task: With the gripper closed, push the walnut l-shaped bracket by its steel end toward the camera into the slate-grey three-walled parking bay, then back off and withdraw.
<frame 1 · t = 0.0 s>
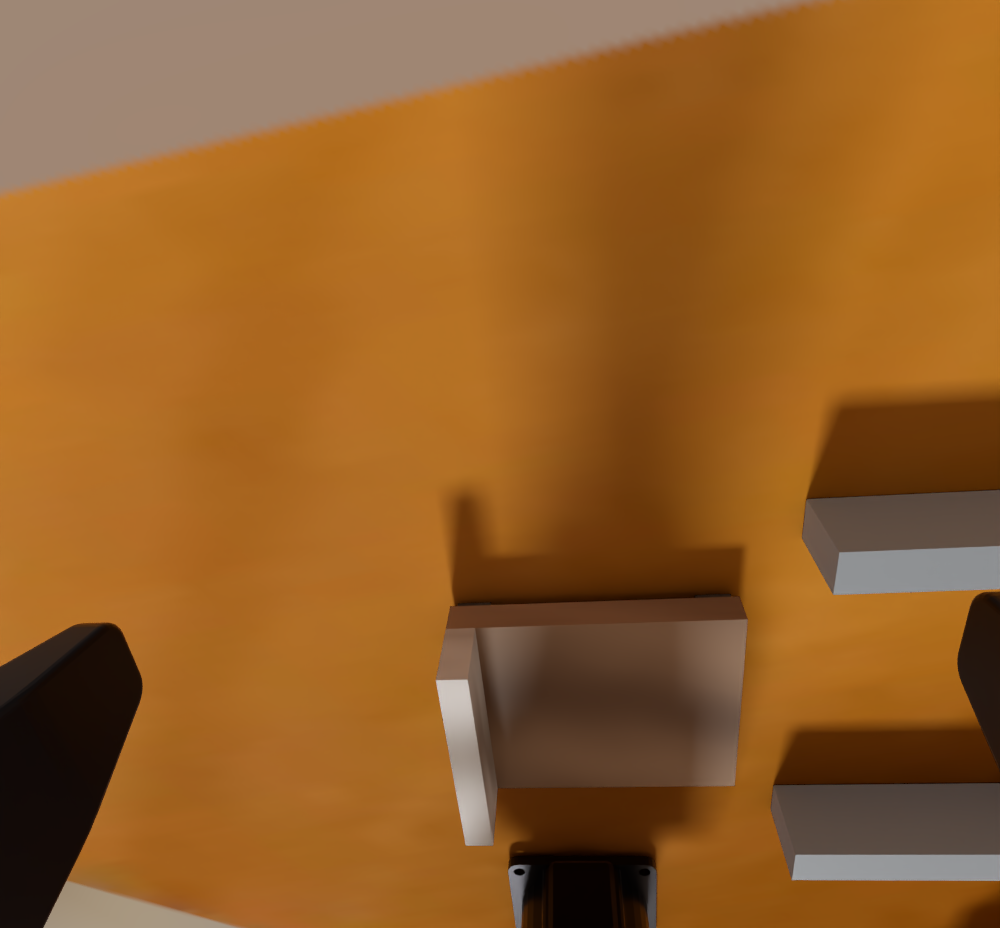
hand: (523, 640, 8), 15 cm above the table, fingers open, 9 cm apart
bay: (958, 670, 26), on the table
l-shaped bracket: (595, 679, 27), on the table
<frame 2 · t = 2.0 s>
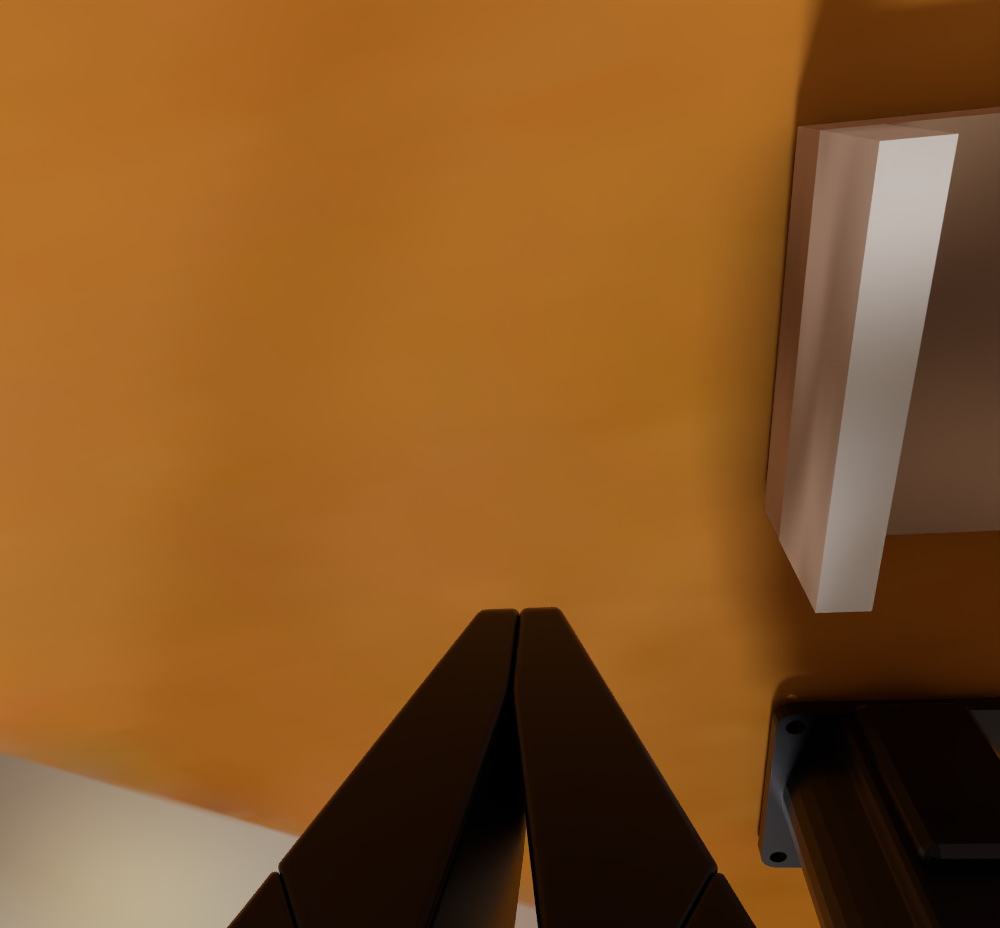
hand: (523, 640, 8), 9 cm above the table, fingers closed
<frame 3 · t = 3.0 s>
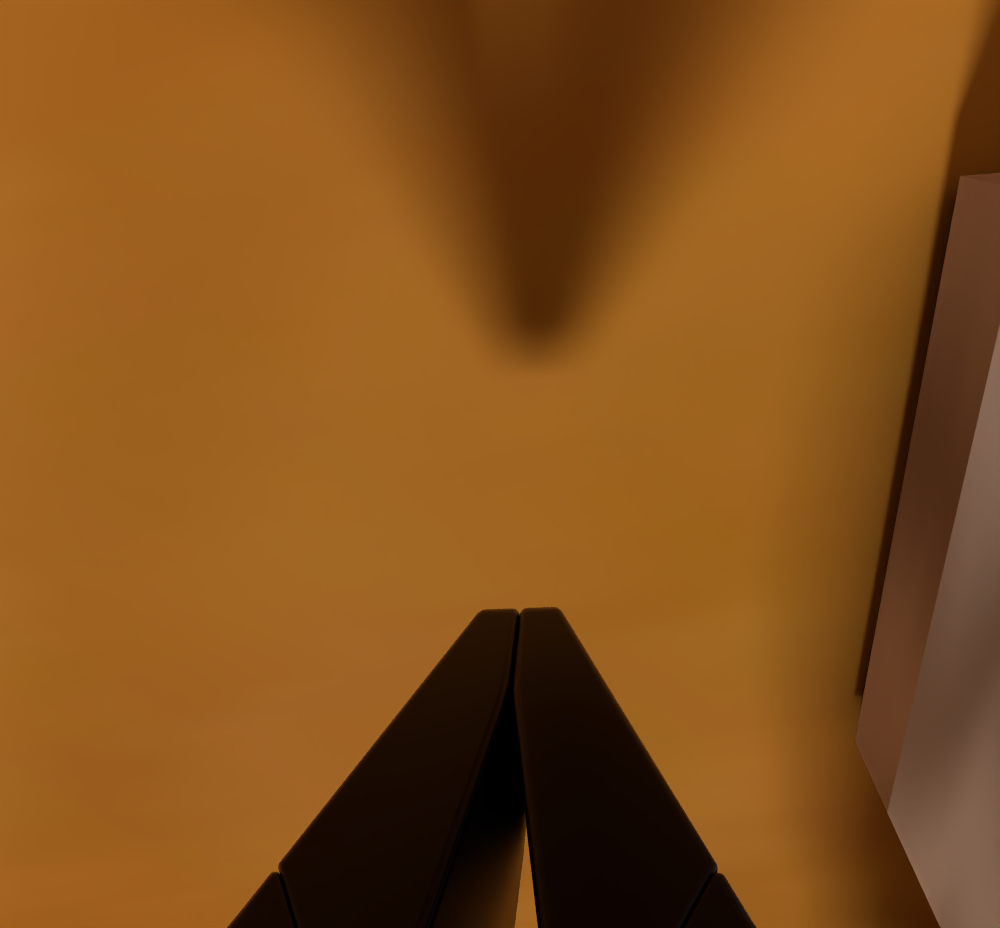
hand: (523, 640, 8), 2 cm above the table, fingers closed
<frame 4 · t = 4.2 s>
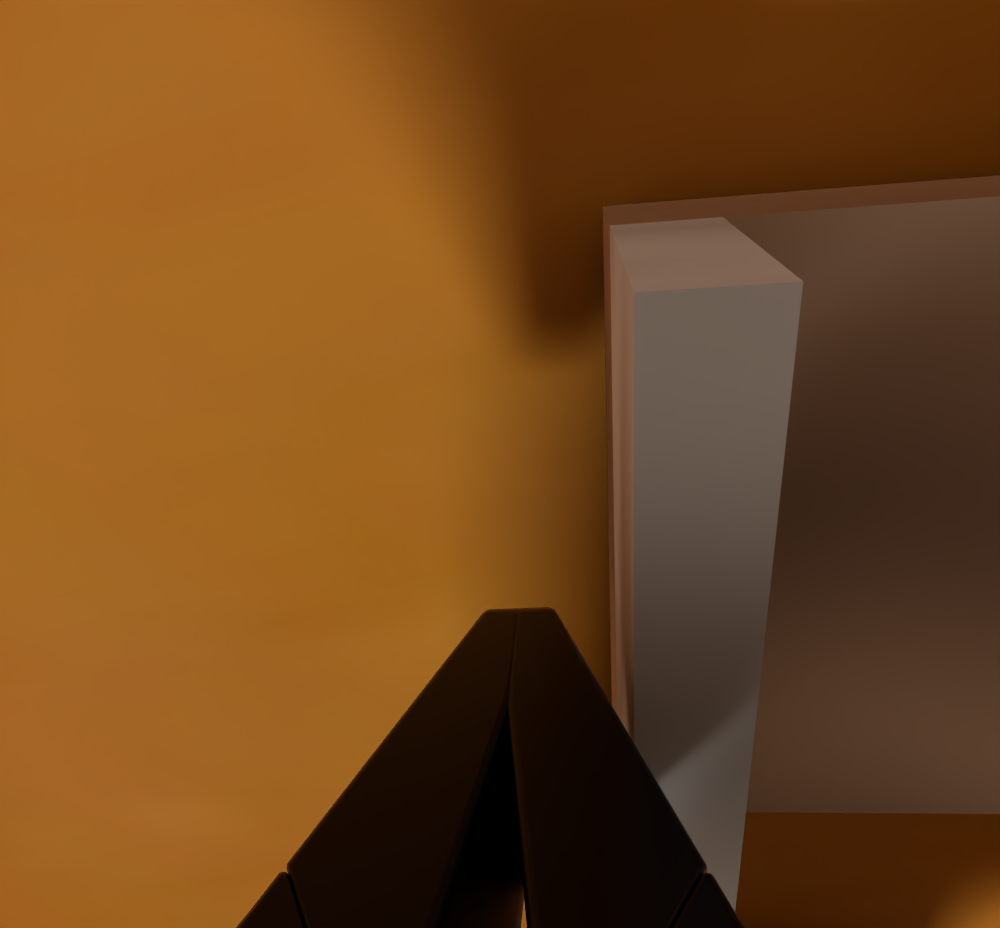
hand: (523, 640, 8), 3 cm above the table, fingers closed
l-shaped bracket: (998, 497, 9), on the table, touching gripper
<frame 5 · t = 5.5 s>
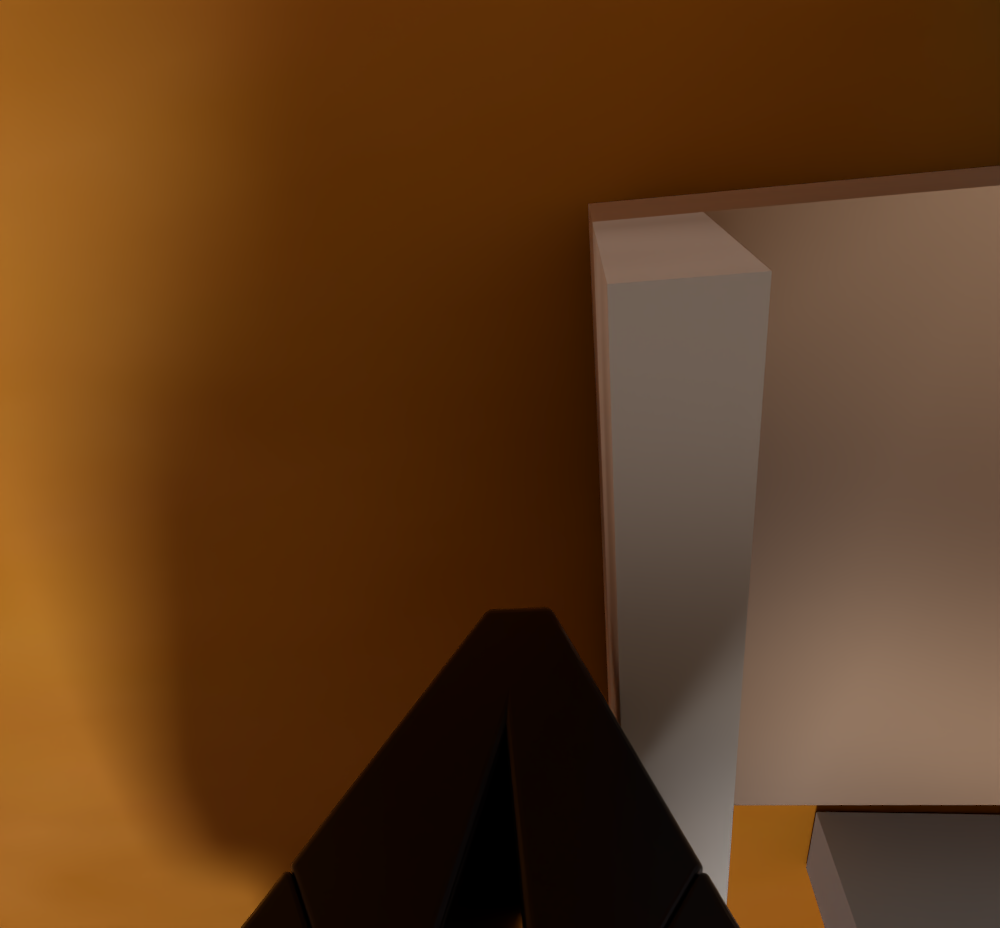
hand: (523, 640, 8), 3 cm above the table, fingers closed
l-shaped bracket: (989, 488, 9), on the table, touching gripper
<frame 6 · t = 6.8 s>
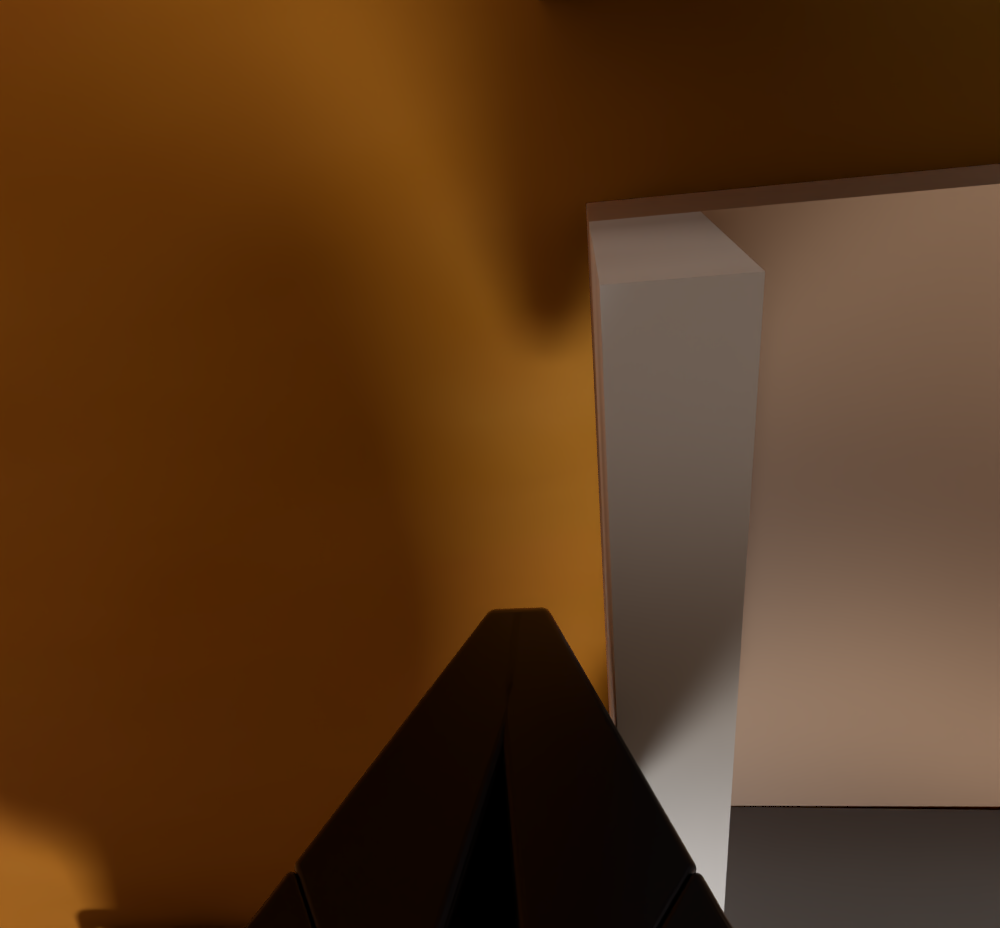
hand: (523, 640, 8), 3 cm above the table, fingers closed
l-shaped bracket: (991, 488, 9), on the table, touching gripper
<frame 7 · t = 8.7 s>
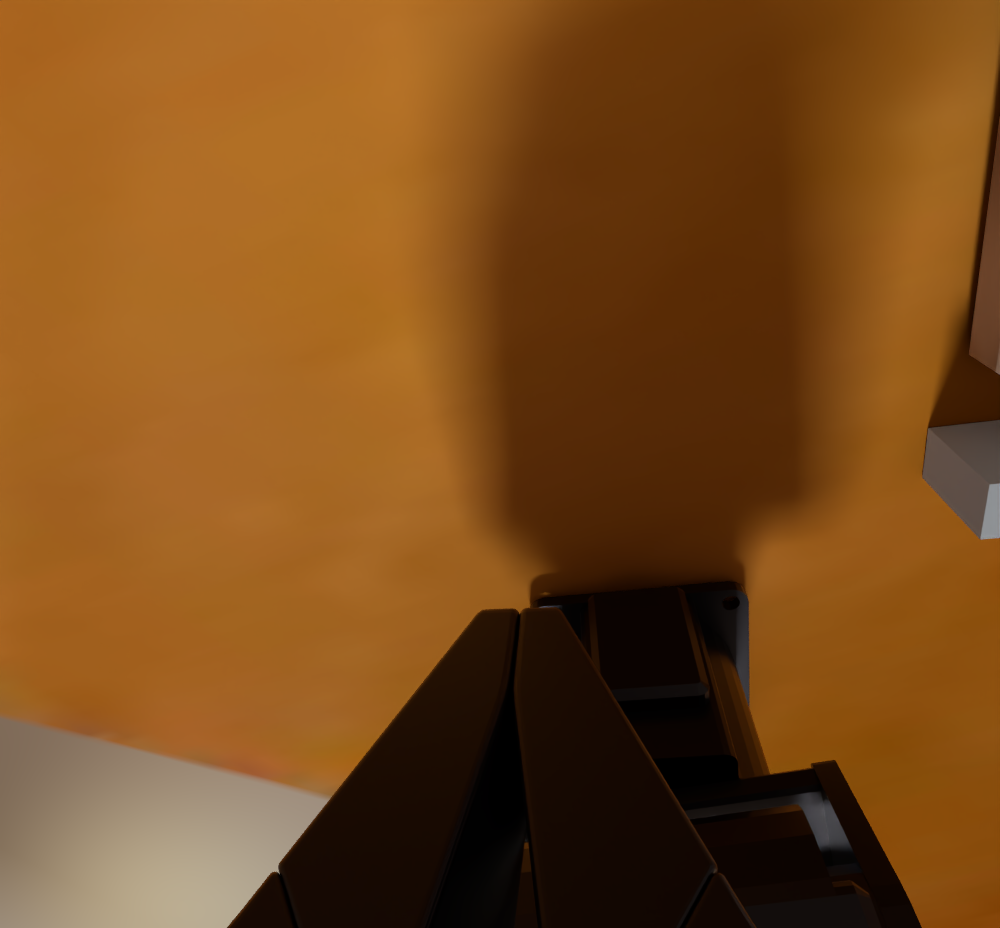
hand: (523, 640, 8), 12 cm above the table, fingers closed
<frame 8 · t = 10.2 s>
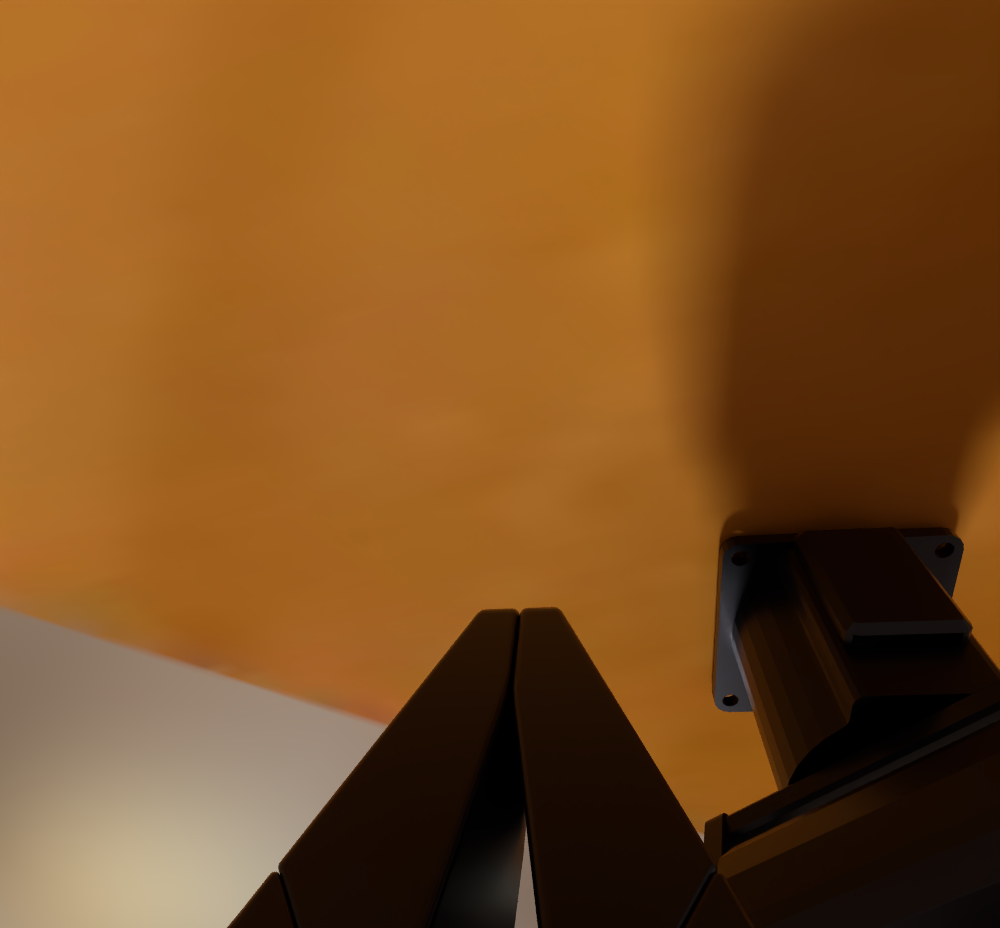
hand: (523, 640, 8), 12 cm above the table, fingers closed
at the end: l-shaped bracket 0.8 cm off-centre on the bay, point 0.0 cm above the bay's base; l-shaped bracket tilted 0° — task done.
